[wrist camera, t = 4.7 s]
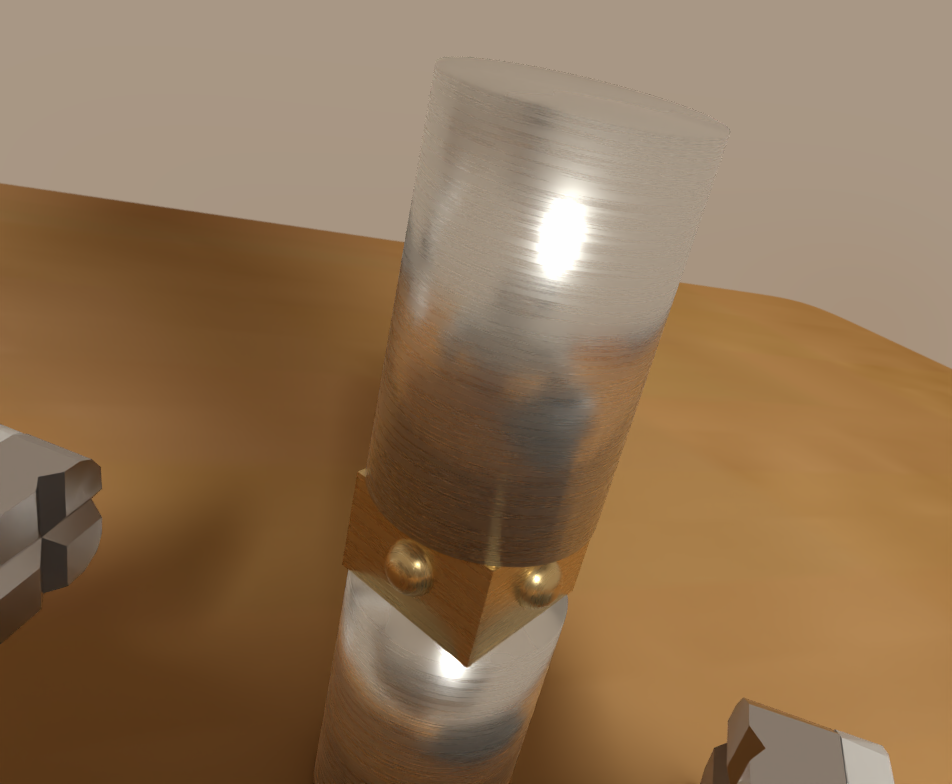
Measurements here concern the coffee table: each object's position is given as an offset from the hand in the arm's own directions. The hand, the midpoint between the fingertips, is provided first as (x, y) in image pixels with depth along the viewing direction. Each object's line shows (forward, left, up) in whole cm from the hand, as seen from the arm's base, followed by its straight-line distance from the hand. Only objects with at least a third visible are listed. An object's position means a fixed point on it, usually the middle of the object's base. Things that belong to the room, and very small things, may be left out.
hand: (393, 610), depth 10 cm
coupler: (-2, +4, -8) cm, 9 cm away
